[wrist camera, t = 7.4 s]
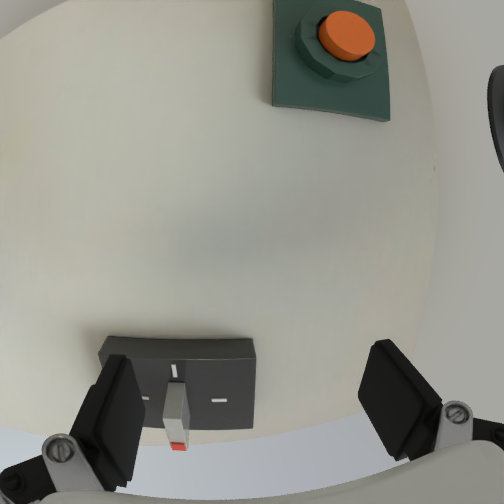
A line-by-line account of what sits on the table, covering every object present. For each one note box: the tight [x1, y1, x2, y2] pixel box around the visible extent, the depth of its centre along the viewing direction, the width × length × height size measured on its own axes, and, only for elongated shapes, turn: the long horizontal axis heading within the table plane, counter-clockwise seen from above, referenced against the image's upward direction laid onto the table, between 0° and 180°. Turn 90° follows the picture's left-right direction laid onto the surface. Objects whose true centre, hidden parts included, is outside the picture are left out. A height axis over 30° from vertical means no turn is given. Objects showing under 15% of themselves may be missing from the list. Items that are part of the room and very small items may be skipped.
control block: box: [272, 0, 390, 122], centre depth 18 cm, size 10×12×3 cm
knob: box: [162, 382, 190, 451], centre depth 21 cm, size 5×2×5 cm, turn 178°
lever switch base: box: [98, 336, 256, 430], centre depth 25 cm, size 14×10×3 cm
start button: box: [319, 11, 375, 61], centre depth 16 cm, size 4×4×2 cm
